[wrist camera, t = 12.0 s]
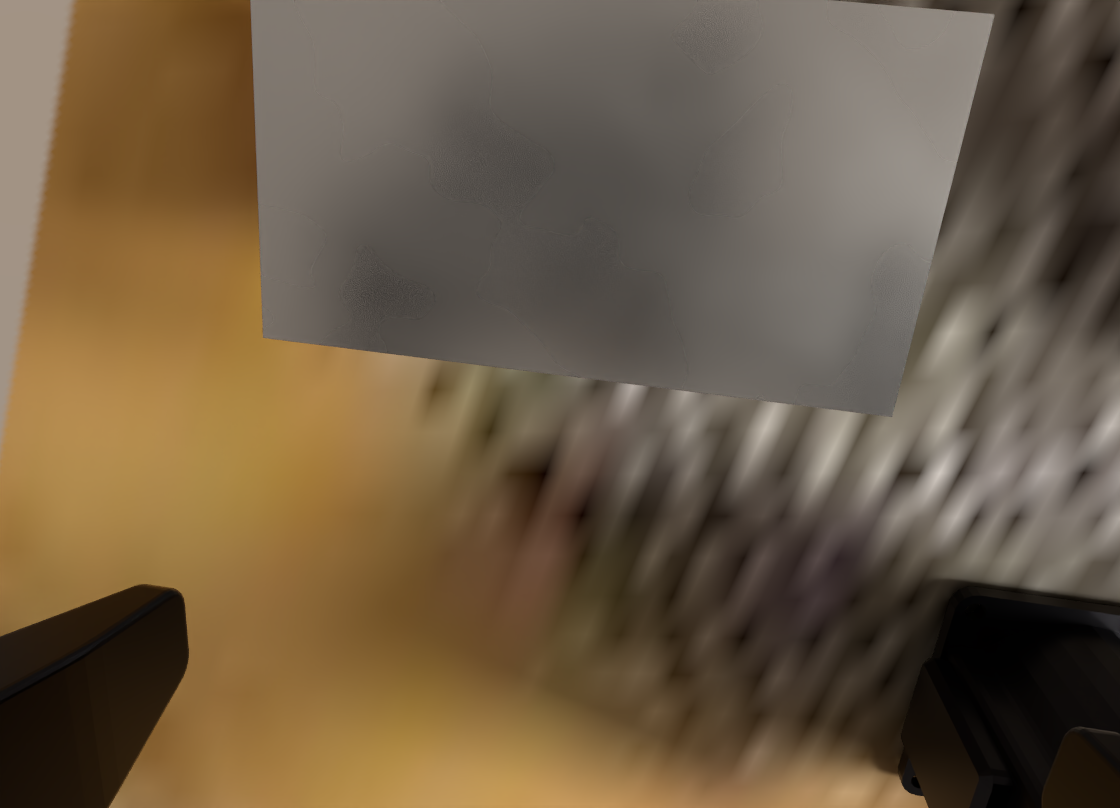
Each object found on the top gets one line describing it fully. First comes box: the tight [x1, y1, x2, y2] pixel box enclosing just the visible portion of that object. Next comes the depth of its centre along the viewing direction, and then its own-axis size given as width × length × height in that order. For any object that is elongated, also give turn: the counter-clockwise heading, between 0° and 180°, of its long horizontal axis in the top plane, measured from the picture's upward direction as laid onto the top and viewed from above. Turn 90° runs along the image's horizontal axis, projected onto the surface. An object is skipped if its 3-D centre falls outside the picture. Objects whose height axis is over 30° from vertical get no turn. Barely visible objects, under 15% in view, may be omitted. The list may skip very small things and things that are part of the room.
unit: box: [250, 0, 995, 417], centre depth 14 cm, size 10×6×8 cm, turn 85°
